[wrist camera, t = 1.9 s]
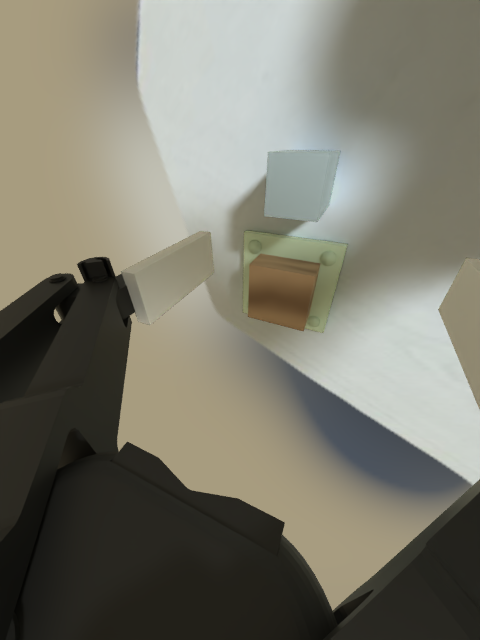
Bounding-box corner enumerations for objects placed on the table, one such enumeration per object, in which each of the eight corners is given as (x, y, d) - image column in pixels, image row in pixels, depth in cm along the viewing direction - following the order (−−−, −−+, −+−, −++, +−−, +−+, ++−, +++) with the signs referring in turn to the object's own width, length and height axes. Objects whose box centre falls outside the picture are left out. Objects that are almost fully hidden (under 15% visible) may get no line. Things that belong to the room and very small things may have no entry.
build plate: (246, 230, 33) (243, 232, 32) (347, 243, 28) (347, 247, 27) (245, 309, 40) (242, 313, 39) (324, 329, 36) (322, 334, 35)
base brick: (260, 253, 33) (249, 264, 30) (320, 263, 30) (315, 276, 27) (257, 303, 37) (247, 316, 34) (309, 315, 35) (303, 331, 32)
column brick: (291, 150, 26) (267, 152, 20) (340, 150, 24) (330, 153, 18) (286, 201, 29) (264, 216, 23) (329, 204, 27) (317, 222, 21)
